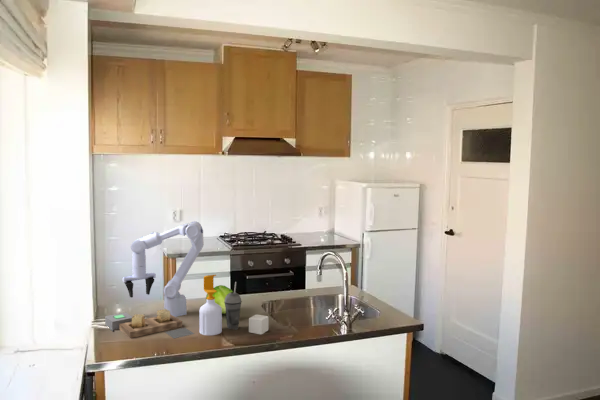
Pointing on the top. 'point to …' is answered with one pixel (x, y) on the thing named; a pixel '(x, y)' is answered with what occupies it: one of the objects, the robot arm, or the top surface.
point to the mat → (179, 333)
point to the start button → (119, 316)
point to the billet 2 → (163, 316)
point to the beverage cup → (233, 309)
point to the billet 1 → (138, 321)
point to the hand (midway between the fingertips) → (139, 295)
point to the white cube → (258, 324)
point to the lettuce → (220, 296)
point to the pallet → (150, 327)
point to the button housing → (117, 320)
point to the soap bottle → (210, 311)
